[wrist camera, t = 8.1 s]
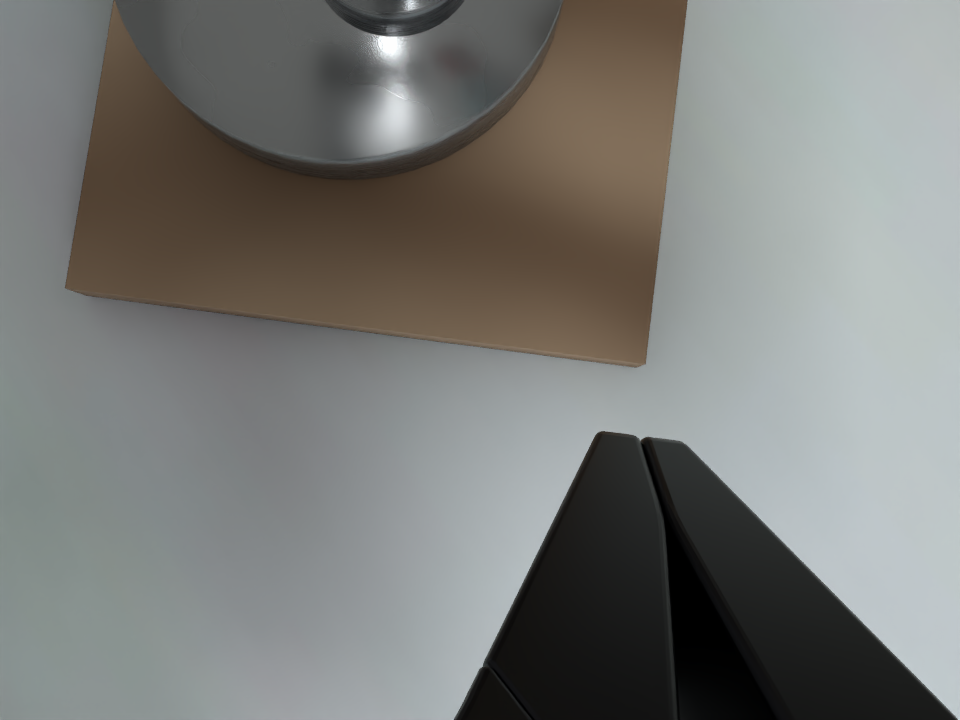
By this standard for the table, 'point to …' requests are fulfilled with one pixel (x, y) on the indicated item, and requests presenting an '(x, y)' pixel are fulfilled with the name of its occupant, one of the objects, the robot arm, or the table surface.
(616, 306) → the level stand
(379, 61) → the cam capstan
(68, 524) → the table surface
